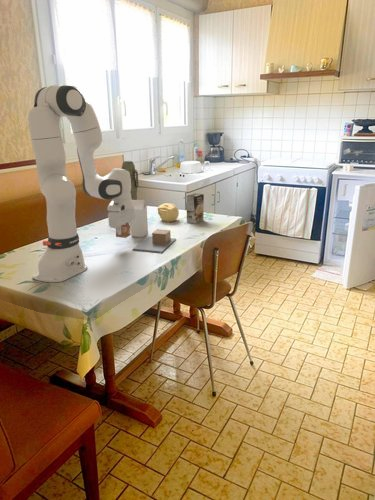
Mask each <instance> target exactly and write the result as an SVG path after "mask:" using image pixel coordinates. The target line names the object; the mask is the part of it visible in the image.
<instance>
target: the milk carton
mask: <svg viewBox="0 0 375 500" xmlns="http://www.w3.org/2000/svg"><path fill="white" fill-rule="evenodd" d="M132 204H133V206H134V210H135V218H134V219H133V220H131V221H130V224H129V225H130V237H132V238H133V237H135V238H136V237H137V238H144V237H146V236H147V235H148V234H149V228H148V227H149V226H148V225H149V224H148V207H147V206H148V205H146V204H147V203H146V202H145V199H137V200H132Z"/></svg>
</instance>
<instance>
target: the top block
mask: <svg viewBox="0 0 375 500" xmlns="http://www.w3.org/2000/svg"><path fill="white" fill-rule="evenodd" d="M121 230H122V234H121V235H118V231H117V229H116V228H115V237H116V238H123V239H126V238H128V237H131V224H129V225H125V224H124V225H122V226H121Z"/></svg>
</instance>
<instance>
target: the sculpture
mask: <svg viewBox="0 0 375 500" xmlns="http://www.w3.org/2000/svg"><path fill="white" fill-rule="evenodd" d="M179 213H180V212H179V209H178V207H177V206H176V204H174V203H169V202H168V203H167V202H165V203H162V204H160V205H158V206H157V214H158V216H159V217H160V219H161V220H162V222H167V223H171V222H174V221H176V220H177V219H179V215H180V214H179Z"/></svg>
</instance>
